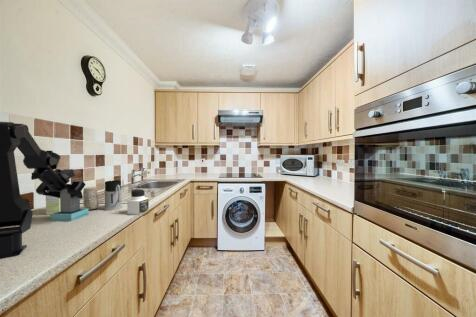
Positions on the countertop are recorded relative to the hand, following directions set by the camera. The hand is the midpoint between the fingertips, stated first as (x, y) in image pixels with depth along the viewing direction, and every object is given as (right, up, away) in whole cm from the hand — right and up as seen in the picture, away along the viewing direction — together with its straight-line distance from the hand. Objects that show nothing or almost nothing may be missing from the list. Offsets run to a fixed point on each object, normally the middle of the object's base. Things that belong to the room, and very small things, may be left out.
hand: (72, 197), depth 95 cm
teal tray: (0, -9, -1) cm, 9 cm away
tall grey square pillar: (0, -8, -1) cm, 8 cm away
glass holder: (+12, -9, +14) cm, 20 cm away
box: (-15, -9, +9) cm, 19 cm away
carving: (-1, -9, +13) cm, 16 cm away
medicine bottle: (+28, -9, +7) cm, 30 cm away
